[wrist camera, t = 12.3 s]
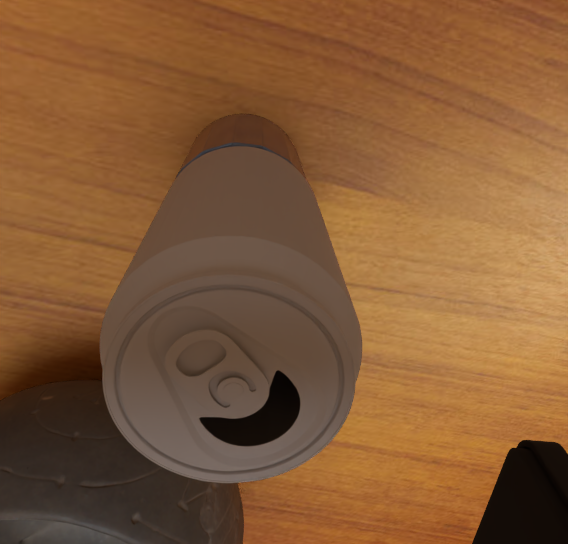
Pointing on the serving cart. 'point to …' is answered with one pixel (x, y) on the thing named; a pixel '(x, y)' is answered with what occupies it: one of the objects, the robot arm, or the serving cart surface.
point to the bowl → (97, 479)
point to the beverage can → (232, 325)
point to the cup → (244, 138)
